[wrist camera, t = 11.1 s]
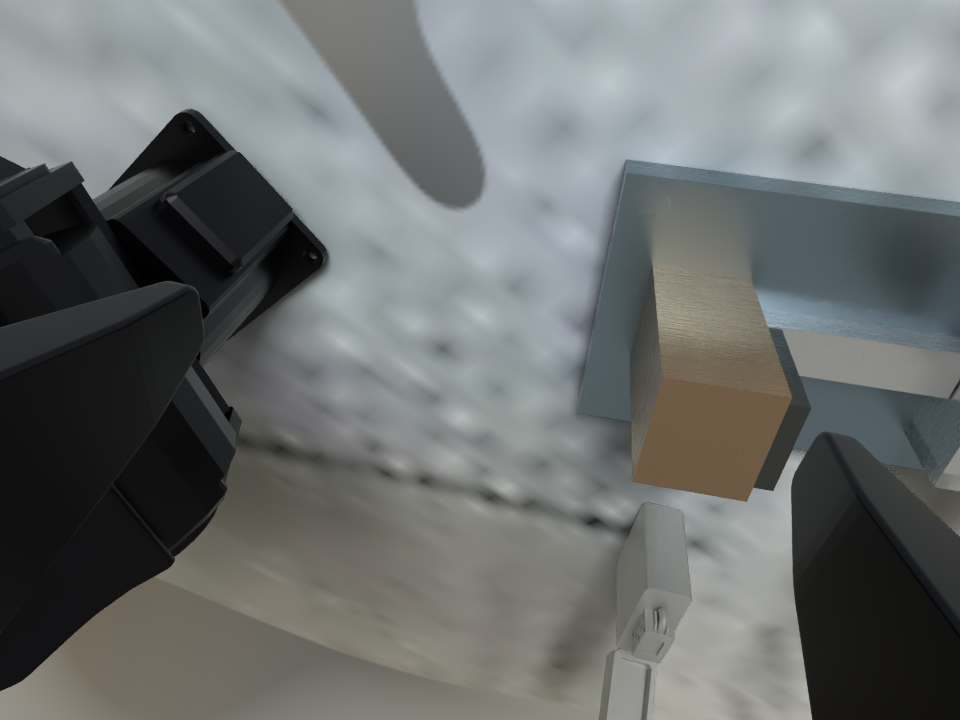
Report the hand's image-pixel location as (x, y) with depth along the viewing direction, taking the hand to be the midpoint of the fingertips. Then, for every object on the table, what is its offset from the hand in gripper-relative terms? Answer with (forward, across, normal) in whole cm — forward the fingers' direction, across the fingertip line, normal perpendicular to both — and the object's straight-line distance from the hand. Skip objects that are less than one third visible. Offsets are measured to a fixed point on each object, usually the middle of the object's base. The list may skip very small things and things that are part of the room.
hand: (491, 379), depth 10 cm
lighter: (+13, -7, +18) cm, 23 cm away
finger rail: (+13, -11, +5) cm, 18 cm away
